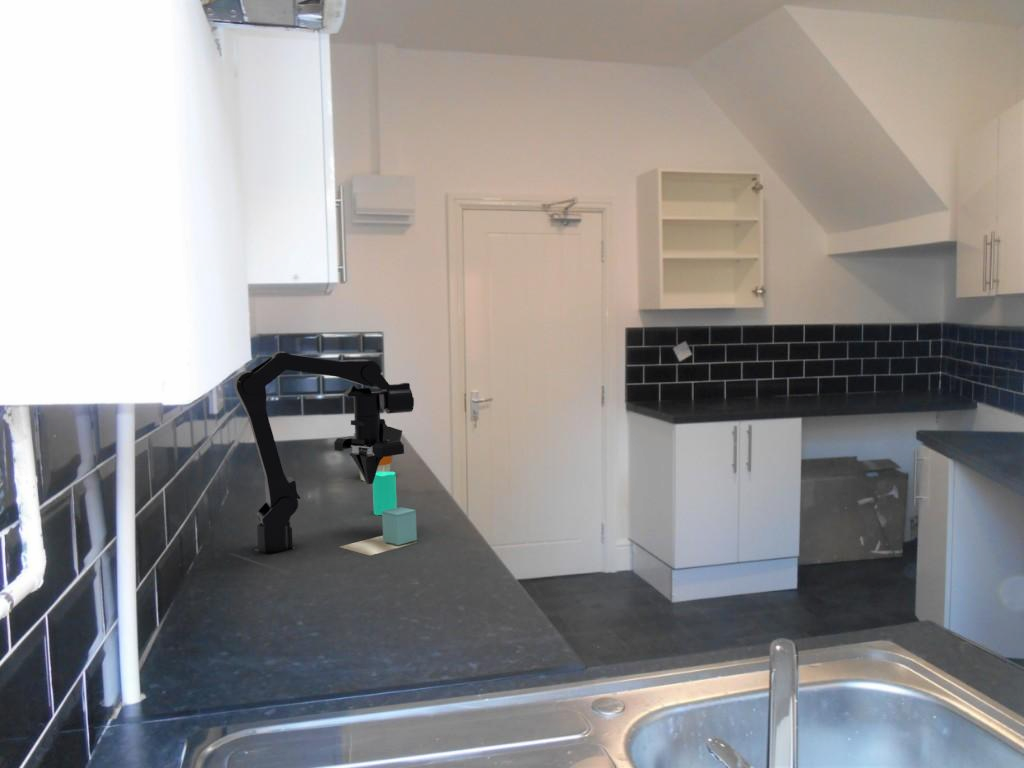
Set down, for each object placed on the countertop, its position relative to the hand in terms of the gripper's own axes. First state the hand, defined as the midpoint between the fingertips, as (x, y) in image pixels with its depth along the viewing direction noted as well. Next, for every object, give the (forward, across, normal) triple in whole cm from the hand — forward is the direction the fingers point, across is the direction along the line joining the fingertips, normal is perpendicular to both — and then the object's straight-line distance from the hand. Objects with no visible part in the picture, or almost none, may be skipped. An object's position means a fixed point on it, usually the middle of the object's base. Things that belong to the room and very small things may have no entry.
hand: (370, 483), depth 183 cm
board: (+12, -8, +4) cm, 15 cm away
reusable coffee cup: (+13, +60, -47) cm, 77 cm away
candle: (+13, +18, -18) cm, 28 cm away
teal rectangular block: (+12, -10, 0) cm, 15 cm away
